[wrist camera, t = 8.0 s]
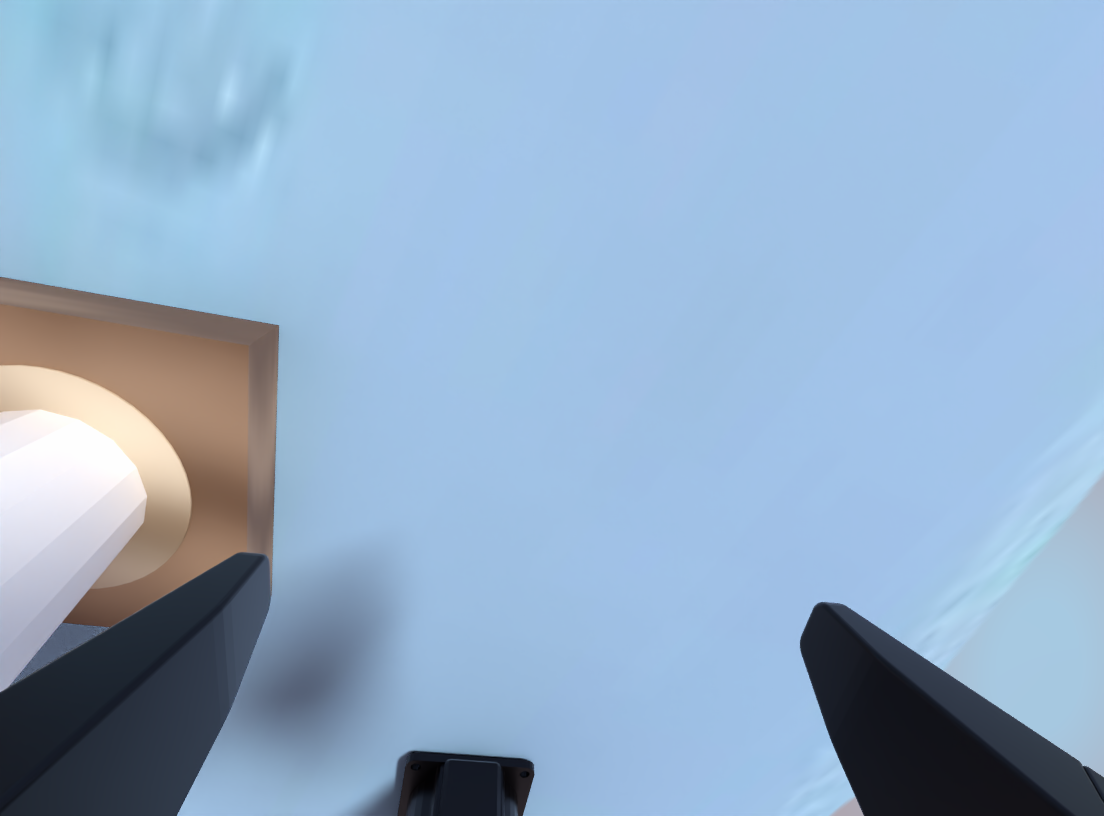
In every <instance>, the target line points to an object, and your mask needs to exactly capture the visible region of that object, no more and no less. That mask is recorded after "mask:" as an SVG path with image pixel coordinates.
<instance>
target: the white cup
mask: <svg viewBox="0 0 1104 816" xmlns="http://www.w3.org/2000/svg"><path fill="white" fill-rule="evenodd" d="M146 501H147V494H146V491H145V489H144V486H143V483H142V480H141V478H140V475H139V472H138V469H137V467H136V466H135V465H134V464H133V462H132V461H131V460H130V459H129V458H128V457H127V456H126V455H125V453H124V452H123V451H122V450H121V449H120V448H119V447H118V445H117V444H116V443H115V442H114V441H113V440H112V439H110V438H108V437H107V436H105V435H103V434H102V433H100V432H99V431H97V430H95V429H94V428H92V427H90V426H89V425H87V424H85V423H84V422H82V421H80V420H78V419H74V418H71V417H67V416H63V415H59V414H56V413H52V412H48V411H44V410H41V409H39V410H21V411H4V412H1V413H0V692H1V691H3V690H4V689H6V688H8V687H9V686H10V685H11V683H12V682H13V681H14V680H15V679H16V677H17V676H18V675H19V674H20V673H21V671H22V670H23V669H24V668H25V666H26V665H27V664H28V663H29V662H30V660H31V659H32V658H33V657H34V656H35V654H36V653H37V652H38V651H39V649H40V648H41V647H42V646H43V645H44V643H45V642H46V641H47V640H48V639H49V637H50V636H51V635H52V634H53V633H54V631H55V630H56V629H57V628H58V626H59V625H60V624H61V623H62V622H63V620H64V619H65V618H66V617H67V616H68V614H69V613H70V612H71V611H72V610H73V608H74V607H75V606H76V605H77V603H78V602H79V601H80V600H81V599H82V597H83V596H84V595H85V594H86V593H87V591H88V590H89V589H90V588H91V587H92V585H93V584H94V583H95V582H96V580H97V579H98V578H99V577H100V576H101V574H102V573H103V572H104V571H105V570H106V568H107V567H108V566H109V565H110V563H111V562H112V561H113V560H114V559H115V557H116V556H117V555H118V554H119V553H120V551H121V550H122V549H123V548H124V547H125V545H126V544H127V543H128V542H129V540H130V539H131V538H132V537H133V535H134V534H135V533H136V531H137V530H138V529H139V528H140V526H141V525H142V524H143V523H144V516H145V509H146Z"/></svg>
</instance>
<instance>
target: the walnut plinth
mask: <svg viewBox="0 0 1104 816" xmlns="http://www.w3.org/2000/svg"><path fill="white" fill-rule="evenodd" d="M278 341H279V325H273V324H268V323H262V322H256V321H250V320H245V319H239V318H233V317H227V316H222V315H216V314H210V313H204V312H199V311H193V310H187V309H181V308H176V307H170V306H164V305H158V304H153V303H147V302H141V301H135V300H129V299H124V298H118V297H112V296H106V295H101V294H95V293H89V292H83V291H78V290H72V289H66V288H60V287H55V286H49V285H43V284H37V283H32V282H26V281H20V280H14V279H9V278H3V277H0V413H1V412H4V411H21V410H39V409H41V410H44V411H48V412H52V413H56V414H59V415H63V416H67V417H71V418H74V419H78V420H80V421H82V422H84V423H85V424H87V425H89V426H90V427H92V428H94V429H95V430H97V431H99V432H100V433H102V434H103V435H105V436H107V437H108V438H110V439H112V440H113V441H114V442H115V443H116V444H117V445H118V447H119V448H120V449H121V450H122V451H123V452H124V453H125V455H126V456H127V457H128V458H129V459H130V460H131V461H132V462H133V464H134V465H135V466H136V467H137V469H138V472H139V475H140V478H141V480H142V483H143V486H144V489H145V491H146V494H147V501H146V509H145V516H144V523H143V524H142V525H141V526H140V528H139V529H138V530H137V531H136V533H135V534H134V535H133V537H132V538H131V539H130V540H129V542H128V543H127V544H126V545H125V547H124V548H123V549H122V550H121V551H120V553H119V554H118V555H117V556H116V557H115V559H114V560H113V561H112V562H111V563H110V565H109V566H108V567H107V568H106V570H105V571H104V572H103V573H102V574H101V576H100V577H99V578H98V579H97V580H96V582H95V583H94V584H93V585H92V587H91V588H90V589H89V590H88V591H87V593H86V594H85V595H84V596H83V597H82V599H81V600H80V601H79V602H78V603H77V605H76V606H75V607H74V608H73V610H72V611H71V612H70V613H69V614H68V616H67V617H66V618H65V619H64V620H63V622H62V623H71V624H82V625H92V626H103V627H112V626H113V625H115V624H117V623H118V622H120V621H122V620H124V619H125V618H127V617H129V616H130V615H132V614H134V613H135V612H137V611H139V610H141V609H142V608H144V607H146V606H147V605H149V604H151V603H152V602H154V601H156V600H158V599H159V598H161V597H163V596H164V595H166V594H168V593H169V592H171V591H173V590H175V589H176V588H178V587H180V586H181V585H183V584H185V583H186V582H188V581H190V580H192V579H193V578H195V577H197V576H198V575H200V574H202V573H203V572H205V571H207V570H209V569H210V568H212V567H214V566H215V565H217V564H219V563H220V562H222V561H224V560H226V559H227V558H229V557H231V556H232V555H234V554H236V553H239V552H250V553H261V554H265V555H267V556H268V558H269V561H270V587H271V591H272V555H273V519H274V484H275V448H276V412H277V377H278Z"/></svg>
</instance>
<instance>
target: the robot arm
mask: <svg viewBox="0 0 1104 816" xmlns="http://www.w3.org/2000/svg"><path fill="white" fill-rule="evenodd" d="M270 600H271V587H270V561H269V558H268V556H267V555H265V554H261V553H250V552H239V553H236V554H234V555H232V556H231V557H229V558H227V559H226V560H224V561H222V562H220V563H219V564H217V565H215V566H214V567H212V568H210V569H209V570H207V571H205V572H203V573H202V574H200V575H198V576H197V577H195V578H193V579H192V580H190V581H188V582H186V583H185V584H183V585H181V586H180V587H178V588H176V589H175V590H173V591H171V592H169V593H168V594H166V595H164V596H163V597H161V598H159V599H158V600H156V601H154V602H152V603H151V604H149V605H147V606H146V607H144V608H142V609H141V610H139V611H137V612H135V613H134V614H132V615H130V616H129V617H127V618H125V619H124V620H122V621H120V622H118V623H117V624H115V625H113V626H112V627H110V628H108V629H107V630H105V631H103V632H101V633H100V634H98V635H96V636H95V637H93V638H91V639H90V640H88V641H86V642H84V643H83V644H81V645H79V646H78V647H76V648H74V649H73V650H71V651H69V652H67V653H66V654H64V655H62V656H61V657H59V658H57V659H56V660H54V661H52V662H50V663H49V664H47V665H45V666H44V667H42V668H40V669H38V670H37V671H35V672H33V673H32V674H30V675H28V676H27V677H25V678H23V679H21V680H20V681H18V682H16V683H15V684H13V685H11V686H10V687H8V688H6V689H4V690H3V691H1V692H0V816H177V814H178V812H179V810H180V808H181V806H182V804H183V802H184V800H185V798H186V796H187V794H188V792H189V790H190V789H191V787H192V785H193V783H194V781H195V779H196V777H197V775H198V773H199V771H200V769H201V767H202V765H203V763H204V761H205V759H206V757H207V755H208V753H209V751H210V749H211V747H212V746H213V744H214V742H215V740H216V738H217V736H218V734H219V732H220V730H221V728H222V726H223V724H224V722H225V720H226V717H227V715H228V713H229V711H230V709H231V706H232V704H233V702H234V699H235V697H236V694H237V692H238V689H239V686H240V684H241V681H242V678H243V676H244V673H245V671H246V668H247V665H248V663H249V660H250V658H251V655H252V652H253V650H254V647H255V645H256V642H257V639H258V637H259V634H260V632H261V629H262V626H263V624H264V621H265V618H266V616H267V613H268V610H269V606H270ZM800 649H801V654H802V657H803V660H804V663H805V666H806V669H807V672H808V675H809V678H810V681H811V683H812V686H813V689H814V692H815V695H816V698H817V701H818V704H819V707H820V710H821V713H822V716H823V719H824V722H825V725H826V728H827V730H828V733H829V736H830V739H831V741H832V744H833V746H834V749H835V751H836V753H837V756H838V758H839V760H840V763H841V765H842V767H843V769H844V772H845V774H846V776H847V778H848V781H849V783H850V785H851V787H852V790H853V792H854V794H855V797H856V799H857V801H858V803H859V806H860V808H861V810H862V812H863V815H864V816H1104V777H1102V776H1101V775H1099V774H1098V773H1096V772H1095V771H1093V770H1092V769H1090V768H1089V767H1087V766H1082V764H1081V763H1080V762H1079V761H1078V760H1077V759H1075V758H1074V757H1072V756H1071V755H1069V754H1068V753H1066V752H1065V751H1063V750H1062V749H1060V748H1058V747H1057V746H1055V745H1054V744H1053V743H1051V742H1050V741H1048V740H1047V739H1045V738H1044V737H1042V736H1041V735H1039V734H1037V733H1036V732H1034V731H1033V730H1032V729H1030V728H1028V727H1027V726H1025V725H1024V724H1022V723H1021V722H1020V721H1018V720H1017V719H1015V718H1014V717H1012V716H1011V715H1009V714H1007V713H1006V712H1004V711H1003V710H1002V709H1000V708H999V707H997V706H996V705H994V704H992V703H991V702H989V701H988V700H986V699H985V698H983V697H982V696H980V695H979V694H977V693H976V692H974V691H973V690H971V689H970V688H968V687H967V686H965V685H964V684H962V683H961V682H959V681H958V680H956V679H955V678H953V677H952V676H950V675H949V674H947V673H946V672H944V671H943V670H941V669H940V668H938V667H937V666H935V665H934V664H932V663H931V662H929V661H928V660H926V659H925V658H923V657H922V656H920V655H919V654H917V653H916V652H914V651H913V650H911V649H910V648H908V647H907V646H905V645H904V644H902V643H901V642H899V641H898V640H896V639H895V638H893V637H892V636H890V635H889V634H887V633H886V632H884V631H883V630H881V629H880V628H878V627H877V626H875V625H874V624H872V623H871V622H869V621H868V620H866V619H865V618H863V617H862V616H860V615H859V614H857V613H856V612H854V611H853V610H851V609H850V608H848V607H847V606H845V605H843V604H839V603H829V602H820V603H818V604H817V605H815V606H814V608H813V610H812V613H811V615H810V617H809V619H808V622H807V624H806V626H805V629H804V631H803V633H802V636H801V640H800ZM533 778H534V764H533V763H532V762H531V761H527V760H516V759H502V758H487V757H473V756H459V755H445V754H431V753H412V754H410V755H409V756H408V757H407V761H406V766H405V773H404V779H403V785H402V791H401V798H400V804H399V810H398V816H523V813H524V809H525V806H526V802H527V799H528V795H529V792H530V788H531V785H532V781H533Z"/></svg>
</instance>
